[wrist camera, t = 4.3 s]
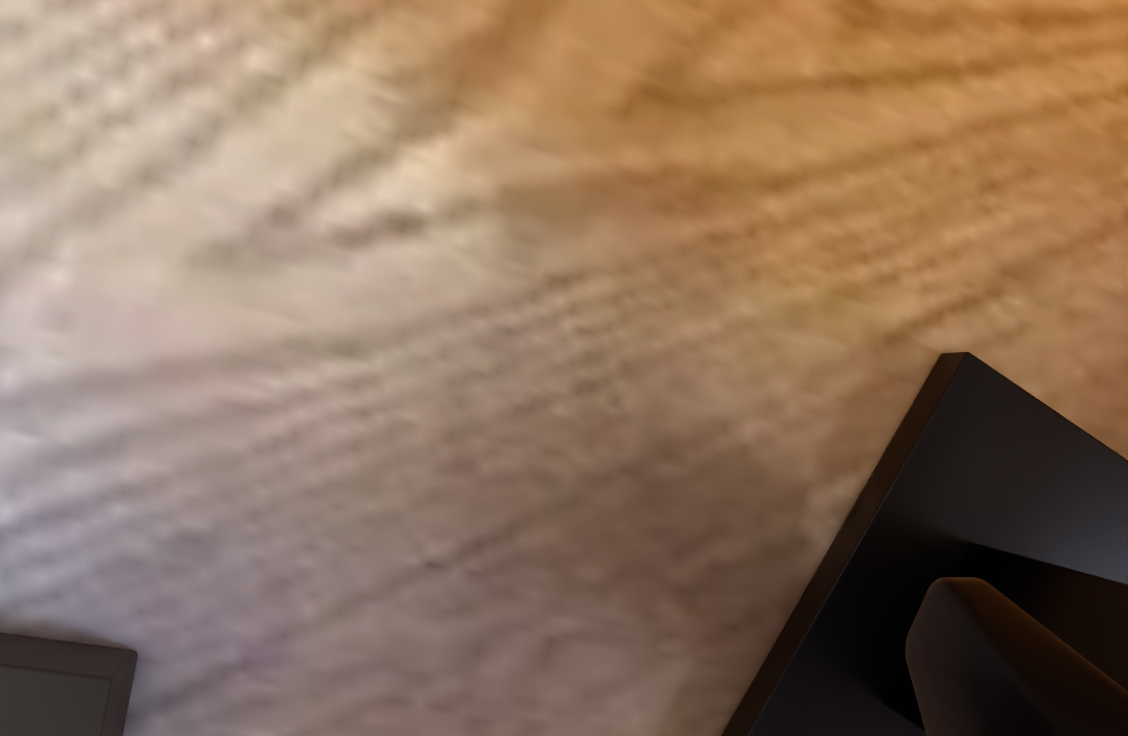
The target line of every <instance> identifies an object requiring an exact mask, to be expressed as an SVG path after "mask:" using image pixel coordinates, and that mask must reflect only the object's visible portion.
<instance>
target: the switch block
mask: <svg viewBox="0 0 1128 736" xmlns="http://www.w3.org/2000/svg"><path fill="white" fill-rule="evenodd" d="M137 656H138V655H137V652H136V651H133V650H126V649H118V648H111V647H103V646H95V645H88V644H80V643H72V642H65V641H57V640H50V639H42V638H34V637H27V636H19V635H11V634H4V633H0V736H122V734H123V728H124V723H125V718H126V713H127V708H128V702H129V697H130V692H131V687H132V682H133V677H134V671H135V666H136V661H137Z"/></svg>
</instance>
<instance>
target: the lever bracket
mask: <svg viewBox="0 0 1128 736" xmlns="http://www.w3.org/2000/svg"><path fill="white" fill-rule="evenodd" d="M947 577H975V578H979V579H982V580H984V581H985V582H987V583H989V584H990V585H991V586H993V587H994V588H995V589H996V590H998V591H999V592H1000V593H1002V594H1003V595H1004V596H1005V597H1007V598H1008V599H1009V600H1011V601H1012V602H1013V603H1014V604H1016V605H1017V606H1018V607H1020V608H1021V609H1022V610H1023V611H1025V612H1026V613H1027V614H1029V615H1030V616H1031V617H1032V618H1034V619H1035V620H1036V621H1038V622H1039V623H1040V624H1041V625H1043V626H1044V627H1045V628H1047V629H1048V630H1049V631H1050V632H1052V633H1053V634H1054V635H1056V636H1057V637H1058V638H1059V639H1061V640H1062V641H1063V642H1065V643H1066V644H1067V645H1068V646H1070V647H1071V648H1072V649H1074V650H1075V651H1076V652H1077V653H1079V654H1080V655H1081V656H1083V657H1084V658H1085V659H1086V660H1088V661H1089V662H1090V663H1092V664H1093V665H1094V666H1095V667H1097V668H1098V669H1099V670H1101V671H1102V672H1103V673H1104V674H1106V675H1107V676H1108V677H1110V678H1111V679H1112V680H1113V681H1115V682H1116V683H1117V684H1119V685H1120V686H1121V687H1122V688H1124V689H1125V690H1126V691H1128V460H1126V459H1125V458H1124V457H1122V456H1121V455H1119V454H1118V453H1116V452H1115V451H1113V450H1112V449H1110V448H1109V447H1107V446H1106V445H1104V444H1103V443H1102V442H1100V441H1099V440H1097V439H1096V438H1094V437H1093V436H1091V435H1090V434H1088V433H1087V432H1085V431H1084V430H1082V429H1081V428H1079V427H1078V426H1077V425H1075V424H1074V423H1072V422H1071V421H1069V420H1068V419H1066V418H1065V417H1063V416H1062V415H1060V414H1059V413H1057V412H1056V411H1055V410H1053V409H1052V408H1050V407H1049V406H1047V405H1046V404H1044V403H1043V402H1041V401H1040V400H1038V399H1037V398H1035V397H1034V396H1032V395H1031V394H1030V393H1028V392H1027V391H1025V390H1024V389H1022V388H1021V387H1019V386H1018V385H1016V384H1015V383H1013V382H1012V381H1010V380H1009V379H1008V378H1006V377H1005V376H1003V375H1002V374H1000V373H999V372H997V371H996V370H994V369H993V368H991V367H990V366H988V365H987V364H985V363H984V362H983V361H981V360H980V359H978V358H977V357H975V356H974V355H972V354H971V353H969V352H956V353H943V354H942V355H941V357H940V359H939V360H938V362H937V364H936V365H935V367H934V369H933V371H932V372H931V374H930V376H929V378H928V379H927V381H926V383H925V384H924V386H923V388H922V390H921V391H920V393H919V395H918V397H917V398H916V400H915V402H914V404H913V405H912V407H911V409H910V410H909V412H908V414H907V416H906V417H905V419H904V421H903V423H902V424H901V426H900V428H899V429H898V431H897V433H896V435H895V436H894V438H893V440H892V442H891V443H890V445H889V447H888V448H887V450H886V452H885V454H884V455H883V457H882V459H881V461H880V462H879V464H878V466H877V468H876V469H875V471H874V473H873V474H872V476H871V478H870V480H869V481H868V483H867V485H866V487H865V488H864V490H863V492H862V493H861V495H860V497H859V499H858V500H857V502H856V504H855V506H854V507H853V509H852V511H851V512H850V514H849V516H848V518H847V519H846V521H845V523H844V525H843V526H842V528H841V530H840V532H839V533H838V535H837V537H836V538H835V540H834V542H833V544H832V545H831V547H830V549H829V551H828V552H827V554H826V556H825V557H824V559H823V561H822V563H821V564H820V566H819V568H818V570H817V571H816V573H815V575H814V577H813V578H812V580H811V582H810V583H809V585H808V587H807V589H806V590H805V592H804V594H803V596H802V597H801V599H800V601H799V602H798V604H797V606H796V608H795V609H794V611H793V613H792V615H791V616H790V618H789V620H788V621H787V623H786V625H785V627H784V628H783V630H782V632H781V634H780V635H779V637H778V639H777V641H776V642H775V644H774V646H773V647H772V649H771V651H770V653H769V654H768V656H767V658H766V660H765V661H764V663H763V665H762V666H761V668H760V670H759V672H758V673H757V675H756V677H755V679H754V680H753V682H752V684H751V686H750V687H749V689H748V691H747V692H746V694H745V696H744V698H743V699H742V701H741V703H740V705H739V706H738V708H737V710H736V711H735V713H734V715H733V717H732V718H731V720H730V722H729V724H728V725H727V727H726V729H725V730H724V732H723V734H722V736H927V735H926V732H925V728H924V724H923V721H922V717H921V713H920V709H919V706H918V702H917V698H916V695H915V691H914V687H913V683H912V680H911V676H910V672H909V669H908V665H907V660H906V652H905V650H906V639H907V635H908V632H909V630H910V628H911V626H912V624H913V621H914V619H915V617H916V615H917V613H918V611H919V608H920V606H921V604H922V602H923V600H924V597H925V595H926V593H927V591H928V589H929V587H930V585H931V584H932V583H933V582H935V581H936V580H937V579H939V578H947Z"/></svg>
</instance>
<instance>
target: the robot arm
mask: <svg viewBox="0 0 1128 736" xmlns="http://www.w3.org/2000/svg"><path fill="white" fill-rule="evenodd" d="M905 652H906V660H907V665H908V669H909V672H910V676H911V680H912V683H913V687H914V691H915V695H916V698H917V702H918V706H919V709H920V713H921V717H922V721H923V724H924V728H925V732H926V735H927V736H1128V691H1126V690H1125V689H1124V688H1122V687H1121V686H1120V685H1119V684H1117V683H1116V682H1115V681H1113V680H1112V679H1111V678H1110V677H1108V676H1107V675H1106V674H1104V673H1103V672H1102V671H1101V670H1099V669H1098V668H1097V667H1095V666H1094V665H1093V664H1092V663H1090V662H1089V661H1088V660H1086V659H1085V658H1084V657H1083V656H1081V655H1080V654H1079V653H1077V652H1076V651H1075V650H1074V649H1072V648H1071V647H1070V646H1068V645H1067V644H1066V643H1065V642H1063V641H1062V640H1061V639H1059V638H1058V637H1057V636H1056V635H1054V634H1053V633H1052V632H1050V631H1049V630H1048V629H1047V628H1045V627H1044V626H1043V625H1041V624H1040V623H1039V622H1038V621H1036V620H1035V619H1034V618H1032V617H1031V616H1030V615H1029V614H1027V613H1026V612H1025V611H1023V610H1022V609H1021V608H1020V607H1018V606H1017V605H1016V604H1014V603H1013V602H1012V601H1011V600H1009V599H1008V598H1007V597H1005V596H1004V595H1003V594H1002V593H1000V592H999V591H998V590H996V589H995V588H994V587H993V586H991V585H990V584H989V583H987V582H985V581H984V580H982V579H979V578H975V577H947V578H939V579H937V580H936V581H935V582H933V583H932V584H931V585H930V587H929V589H928V591H927V593H926V595H925V597H924V600H923V602H922V604H921V606H920V608H919V611H918V613H917V615H916V617H915V619H914V621H913V624H912V626H911V628H910V630H909V632H908V635H907V639H906V650H905Z"/></svg>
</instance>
